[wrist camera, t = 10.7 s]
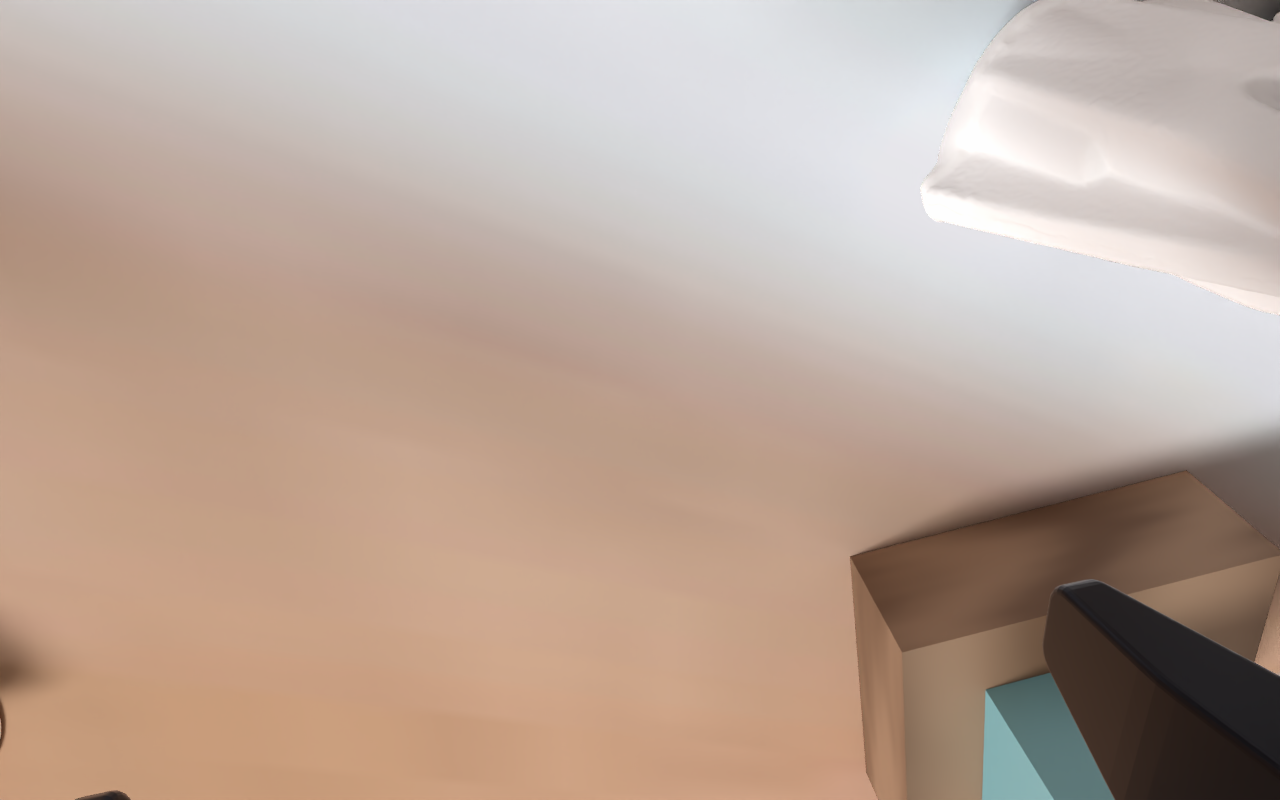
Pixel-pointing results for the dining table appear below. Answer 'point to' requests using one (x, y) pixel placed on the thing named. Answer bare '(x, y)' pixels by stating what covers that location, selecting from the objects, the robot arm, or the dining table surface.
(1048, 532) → the walnut block
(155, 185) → the dining table surface
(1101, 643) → the robot arm
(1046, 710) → the teal cube
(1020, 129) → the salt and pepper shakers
